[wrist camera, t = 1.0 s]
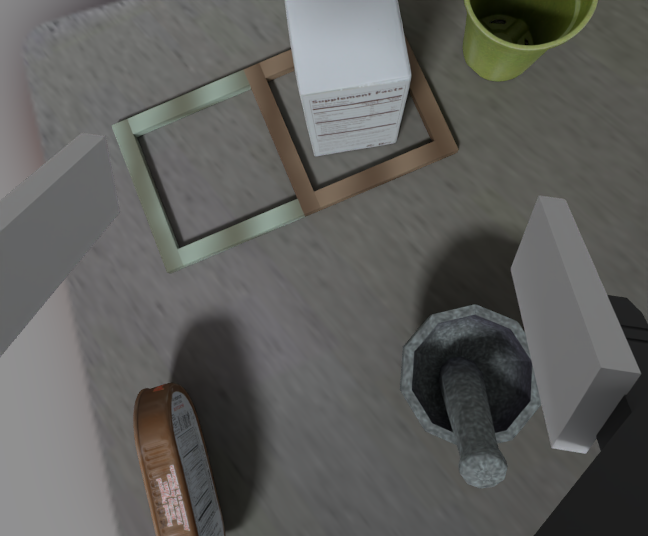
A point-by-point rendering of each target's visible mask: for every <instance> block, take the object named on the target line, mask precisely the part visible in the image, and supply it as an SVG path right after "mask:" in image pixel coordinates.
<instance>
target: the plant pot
mask: <svg viewBox="0 0 648 536" xmlns="http://www.w3.org/2000/svg"><path fill="white" fill-rule="evenodd" d="M597 3H598V0H464V4H465V7H466V10H467V19H466V27H465V34H464V40H463V54H464V58H465V60H466V63H467V64H468V65H469V66H470V67H471V68H472V69H473V70H474V71H475V72H476V73H477V74H478V75H479V76H480V77H482V78H484V79H487V80H491V81H506V80H510V79H513V78H515V77H517V76H519V75H520V74H522V73H523V72H524V71H525V70H527V69H528V68H529V67H530V66H531V65H532V64H533V63H534V62H535V61H536V60H537V59H538V58H539V57H540V56H541V55H543V54H544V53H545V52H546V51H547V50H548V49H549V48H553V47H556V46H558V45H561V44H563V43H565V42H566V41H568V40H570V39H571V38H573V37H574V36H575V35H577V34H578V33H579V32H580V31H581V30H582V29H583V28H584V27H585V25H586V24H587V23H588V22H589V20H590V19H591V17H592V15H593V13H594V11H595V9H596V6H597ZM494 20H504V21H506V23H505V24H499V23H492V24H491V23H490V22H491V21H494ZM524 39H526V40H527V41H528V45H525V42H524Z"/></svg>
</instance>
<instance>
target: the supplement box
mask: <svg viewBox="0 0 648 536" xmlns="http://www.w3.org/2000/svg"><path fill="white" fill-rule="evenodd" d="M285 7H286V15H287V23H288V30H289V37H290V44H291V51H292V57H293V63H294V68H295V74H296V79H297V84H298V89H299V94H300V98H301V102H302V106H303V110H304V115H305V119H306V124H307V128H308V132H309V136H310V140H311V144H312V148H313V152H314V155H315V156H320V155H327V154H333V153H339V152H345V151H351V150H357V149H363V148H369V147H375V146H381V145H387V144H393V143H396V141H397V137H398V132H399V128H400V124H401V120H402V115H403V111H404V107H405V103H406V99H407V95H408V91H409V87H410V82H411V70H410V64H409V59H408V53H407V48H406V43H405V37H404V31H403V24H402V19H401V16H400V10H399V5H398V0H285Z"/></svg>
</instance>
